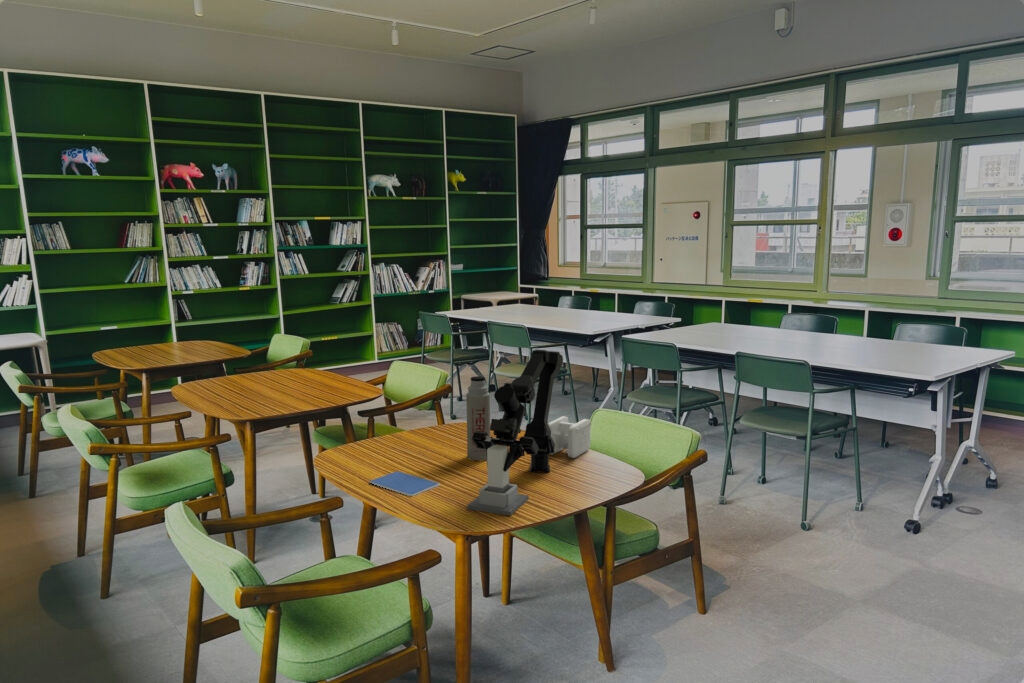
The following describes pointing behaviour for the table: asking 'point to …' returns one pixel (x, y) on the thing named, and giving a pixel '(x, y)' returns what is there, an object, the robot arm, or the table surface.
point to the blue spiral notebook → (405, 483)
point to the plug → (497, 469)
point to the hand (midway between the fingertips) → (496, 469)
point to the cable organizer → (571, 436)
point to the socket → (498, 501)
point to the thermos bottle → (477, 415)
